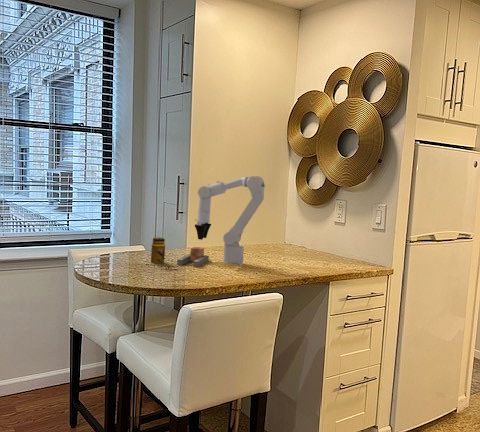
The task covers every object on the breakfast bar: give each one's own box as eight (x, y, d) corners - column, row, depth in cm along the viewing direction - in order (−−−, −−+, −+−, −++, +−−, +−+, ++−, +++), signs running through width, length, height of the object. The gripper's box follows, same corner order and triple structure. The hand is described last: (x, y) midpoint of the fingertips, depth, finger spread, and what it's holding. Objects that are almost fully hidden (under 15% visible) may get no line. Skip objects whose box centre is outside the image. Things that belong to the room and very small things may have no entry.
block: (203, 260, 232) (204, 247, 231) (200, 261, 227) (201, 249, 226) (193, 259, 233) (194, 246, 232) (190, 260, 228) (190, 248, 227)
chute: (208, 262, 232) (208, 255, 232) (197, 268, 215) (197, 261, 214) (189, 259, 234) (189, 253, 234) (176, 266, 217) (177, 259, 216)
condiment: (164, 266, 216) (166, 239, 215) (145, 265, 214) (146, 238, 213) (165, 263, 223) (166, 237, 222) (146, 262, 222) (147, 236, 221)
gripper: (200, 209, 243) (198, 236, 244) (191, 211, 229) (189, 239, 230) (214, 210, 241) (212, 237, 243) (206, 212, 227) (204, 241, 228)
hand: (202, 238), depth 236 cm, fingers open, 6 cm apart
